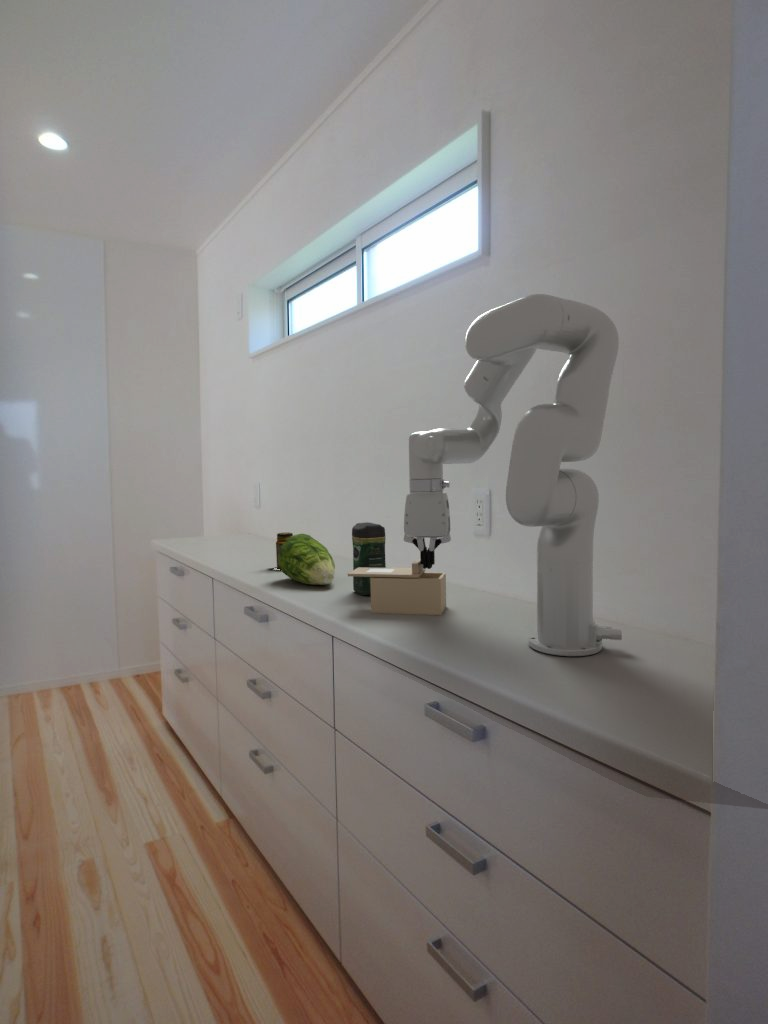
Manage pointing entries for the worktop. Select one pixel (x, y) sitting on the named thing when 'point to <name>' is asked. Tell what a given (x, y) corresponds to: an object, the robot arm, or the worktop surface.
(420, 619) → the worktop surface
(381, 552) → the coffee jar
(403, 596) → the box
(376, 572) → the lid
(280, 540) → the condiment
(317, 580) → the lettuce
